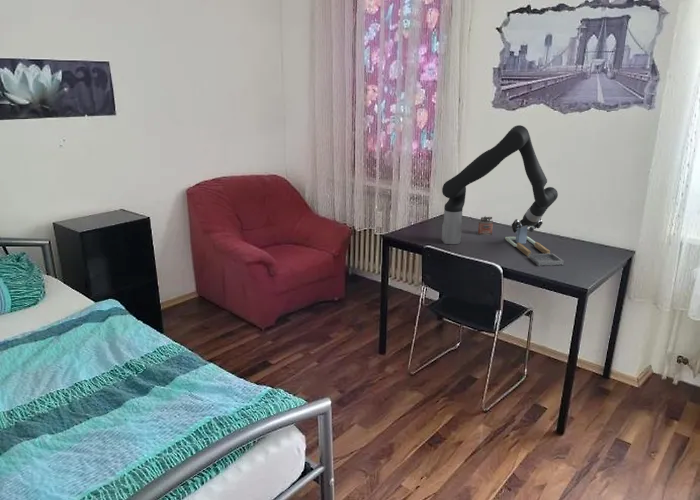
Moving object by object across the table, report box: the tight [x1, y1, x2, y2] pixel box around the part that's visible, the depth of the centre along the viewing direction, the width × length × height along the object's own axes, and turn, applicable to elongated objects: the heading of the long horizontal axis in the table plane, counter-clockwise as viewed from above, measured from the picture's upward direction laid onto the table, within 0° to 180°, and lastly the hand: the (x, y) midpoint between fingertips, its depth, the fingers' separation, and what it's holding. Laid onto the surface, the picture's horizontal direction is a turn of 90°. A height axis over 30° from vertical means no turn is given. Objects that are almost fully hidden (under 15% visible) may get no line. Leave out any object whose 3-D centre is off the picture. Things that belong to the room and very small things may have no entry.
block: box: [515, 225, 529, 245], centre depth 269 cm, size 4×4×9 cm
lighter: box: [477, 215, 494, 236], centre depth 283 cm, size 8×3×10 cm, turn 92°
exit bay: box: [504, 235, 536, 248], centre depth 270 cm, size 12×13×1 cm
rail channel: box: [516, 241, 551, 257], centre depth 256 cm, size 11×14×2 cm
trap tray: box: [528, 252, 565, 267], centre depth 242 cm, size 12×11×2 cm
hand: (522, 230), depth 269 cm, fingers open, 8 cm apart
